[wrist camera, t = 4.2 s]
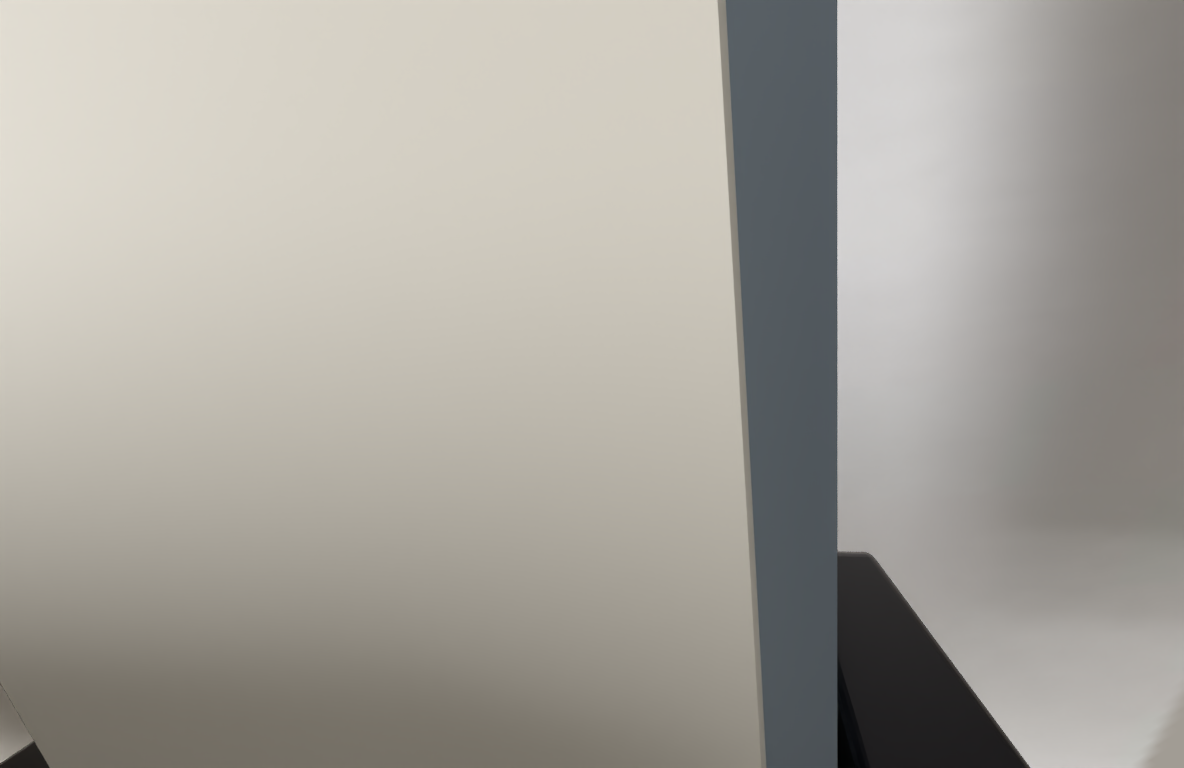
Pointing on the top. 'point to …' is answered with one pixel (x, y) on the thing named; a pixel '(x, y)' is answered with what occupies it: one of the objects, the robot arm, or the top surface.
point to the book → (419, 382)
